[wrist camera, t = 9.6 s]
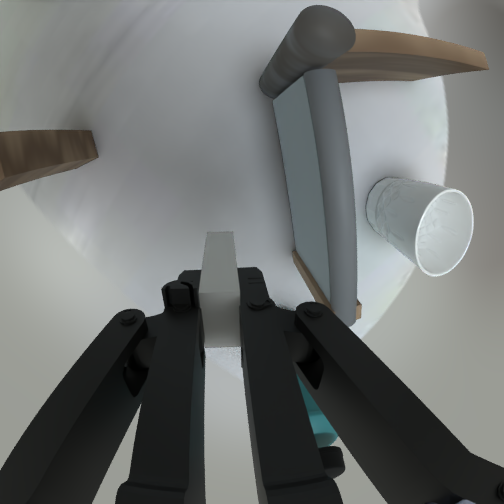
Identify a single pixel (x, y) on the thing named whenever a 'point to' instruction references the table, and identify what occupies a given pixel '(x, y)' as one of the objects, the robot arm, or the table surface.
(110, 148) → the table surface
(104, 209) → the table surface
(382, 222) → the white cup
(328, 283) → the gate panel
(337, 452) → the beverage bottle
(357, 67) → the gate frame
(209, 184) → the table surface
